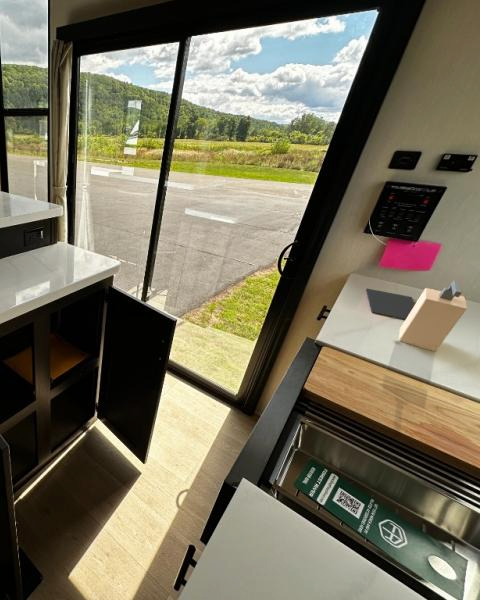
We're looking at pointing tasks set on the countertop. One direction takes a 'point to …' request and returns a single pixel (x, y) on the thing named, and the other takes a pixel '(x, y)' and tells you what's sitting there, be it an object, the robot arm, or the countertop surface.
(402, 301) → the mat
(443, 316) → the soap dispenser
